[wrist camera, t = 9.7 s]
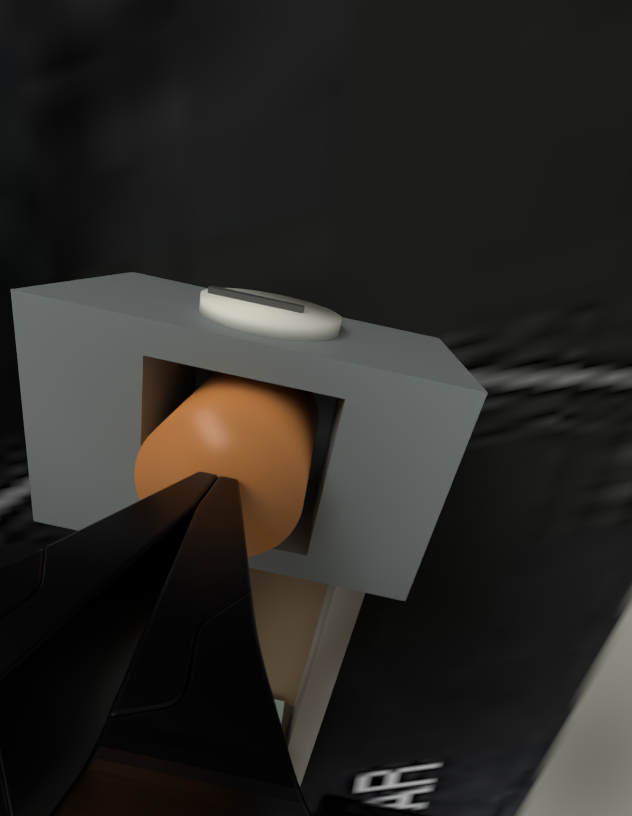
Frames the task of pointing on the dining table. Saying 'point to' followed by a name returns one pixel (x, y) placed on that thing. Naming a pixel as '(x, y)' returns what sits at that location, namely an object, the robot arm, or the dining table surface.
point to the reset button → (239, 450)
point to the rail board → (302, 650)
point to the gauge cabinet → (260, 360)
